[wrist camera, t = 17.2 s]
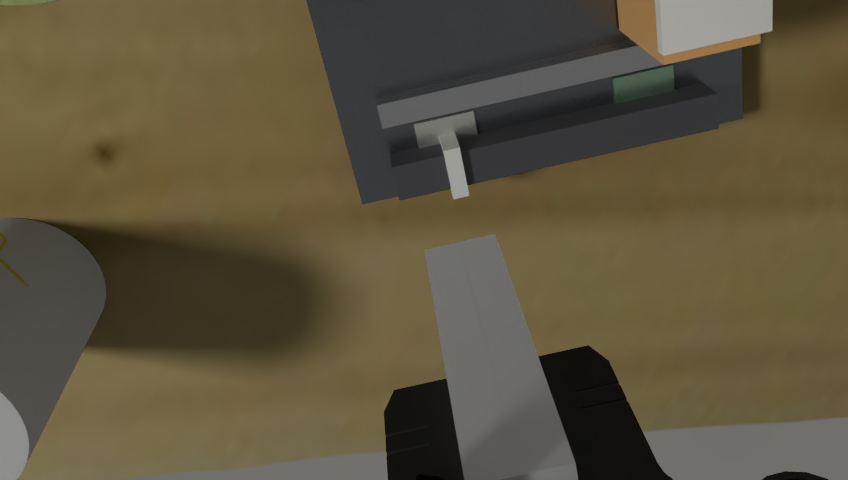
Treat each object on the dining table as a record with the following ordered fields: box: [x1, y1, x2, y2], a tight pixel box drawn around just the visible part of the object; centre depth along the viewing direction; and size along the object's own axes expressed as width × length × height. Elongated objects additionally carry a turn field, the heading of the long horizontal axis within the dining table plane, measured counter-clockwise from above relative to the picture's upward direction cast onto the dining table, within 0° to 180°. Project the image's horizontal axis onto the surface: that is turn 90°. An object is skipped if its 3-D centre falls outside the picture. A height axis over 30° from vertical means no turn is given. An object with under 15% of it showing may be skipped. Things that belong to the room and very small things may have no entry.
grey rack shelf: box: [390, 83, 719, 200], centre depth 36 cm, size 16×16×2 cm
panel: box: [307, 0, 743, 204], centre depth 37 cm, size 16×20×3 cm
